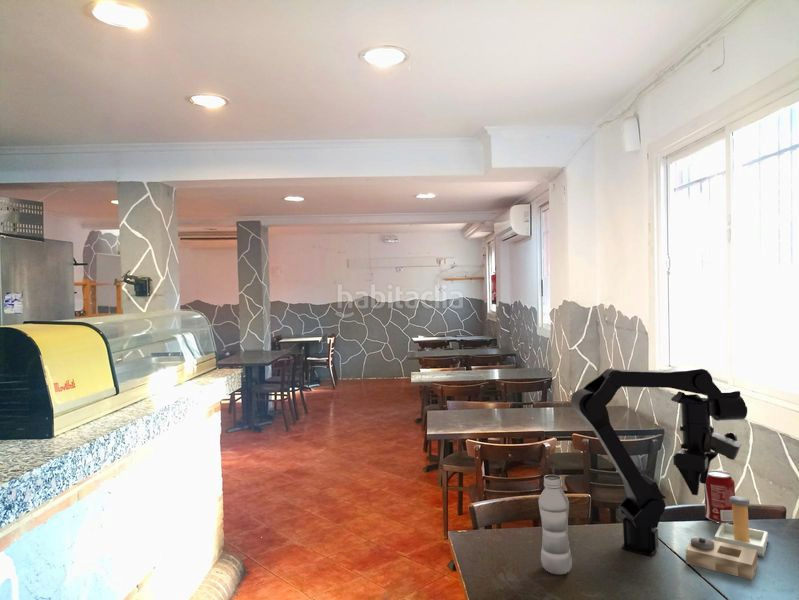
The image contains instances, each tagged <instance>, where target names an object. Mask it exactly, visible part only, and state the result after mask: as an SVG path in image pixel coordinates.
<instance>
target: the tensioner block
mask: <svg viewBox="0 0 799 600" xmlns="http://www.w3.org/2000/svg"><path fill="white" fill-rule="evenodd" d="M758 562H759V561H758V556H757V550H755V549H750V548H746V547H741V546H737V545H732V544H728V543H723V542H719V541H715V539H710V538H709V539H708V538H705V537H700V536H696V535H693V537H692V538H691V539H690V542H688V545H687V546H686V548H685V564H687V565H692V566H695V567H700V568H704V569H708V570H712V571H716V572H719V573H724V574H728V575H731V576H736V577H739V578H743V579H746V580H752V581H754V577H755V575H756V571H757V568H758V565H759V563H758Z"/></svg>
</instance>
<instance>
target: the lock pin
mask: <svg viewBox="0 0 799 600" xmlns="http://www.w3.org/2000/svg"><path fill="white" fill-rule="evenodd" d="M730 502H731V503H732V512H733V523H732V525H733V528H734V540H739V541H744V542H748V543H750V539H749V528H750V527H749V511H748V510H749V508H748V506H749V505H750V499H749V498H747V497H745V496H740V495H735V496H731V497H730Z"/></svg>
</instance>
